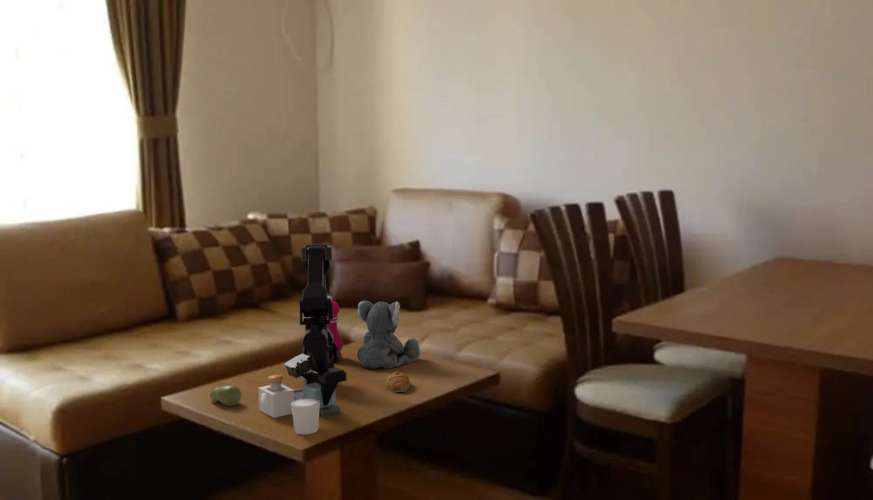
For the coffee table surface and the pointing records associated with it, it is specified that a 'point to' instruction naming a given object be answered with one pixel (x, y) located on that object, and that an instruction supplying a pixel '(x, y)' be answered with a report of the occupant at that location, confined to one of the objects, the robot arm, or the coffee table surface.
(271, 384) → the button
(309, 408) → the shot glass
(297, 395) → the rail
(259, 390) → the cabinet
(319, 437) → the coffee table surface
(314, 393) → the block
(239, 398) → the green eggplant
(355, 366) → the coffee table surface
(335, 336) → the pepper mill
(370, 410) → the coffee table surface
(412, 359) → the koala plush
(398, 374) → the pastry
